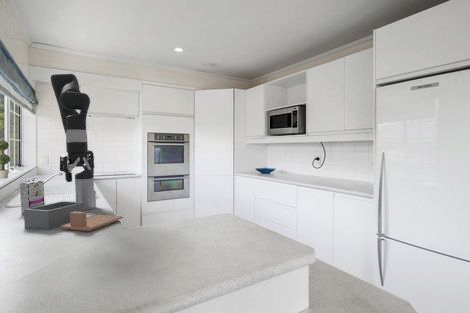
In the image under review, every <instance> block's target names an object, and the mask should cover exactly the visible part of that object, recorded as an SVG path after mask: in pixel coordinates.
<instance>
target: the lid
mask: <svg viewBox="0 0 470 313" xmlns="http://www.w3.org/2000/svg"><path fill="white" fill-rule="evenodd" d="M123 218H124V216H122V215H110V214H108V215H107V214H95V215H91V216H88V217H87V212H86V211H85V212H76V211H75V212H71V213H70V223H68V224H65V225H61V226H60V228H61V229H68V230H71V231H79V232H91V231H95V230H98V229H99V228H103V227H105V226H108V225H111V224H113V223H117V221H118V220H122V219H123Z"/></svg>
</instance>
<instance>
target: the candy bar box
mask: <svg viewBox="0 0 470 313" xmlns="http://www.w3.org/2000/svg"><path fill="white" fill-rule="evenodd" d="M44 185H45V184H44V181H43V180H34V181H27V182H22V183H19V193H20V207H21V214H23V215H24V209H28V208H33V207H38V206H42V205H46V204H45V190H44V188H45V186H44Z"/></svg>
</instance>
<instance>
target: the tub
mask: <svg viewBox="0 0 470 313" xmlns="http://www.w3.org/2000/svg"><path fill="white" fill-rule="evenodd" d="M75 211H76V212H86V210H85V205H84V202H76V201H65V200H64V201H63V200H62V201H57V202H51V203H49V204H45V205H42V206H38V207H33V208H28V209H24V214H23V217H24V218H23V219H24V228H25V229H32V230H33V229H34V230H44V231H49V230H54V229H57V228H61V225H65V224H68V223H70V213H71V212H75Z"/></svg>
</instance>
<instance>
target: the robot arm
mask: <svg viewBox="0 0 470 313" xmlns="http://www.w3.org/2000/svg"><path fill="white" fill-rule="evenodd" d="M50 83H51V87H52V89H53V93H54V96H55V99H56V102H57V105H58V109H59V113H60V118H61V123H62V127H63V129H64V133H65V144H66V145H65V147H66V153H67V155H61V156H60V157H59V171H60V172H63V173H64V174H65V175H64V177H65V181H66V182H67V183H72V182H73V169H75V168H76V167H77V168H79V167H81V168H83V170H82V171H80V172H77V173H75V174H74V187H75V189H74V190H75V202H84V205H85V211H88V210H92V209H94V208H96V207H97V201H96V200H97V198H96V197H97V196H96V195H97V194H96V190H95V182H94V180H95V178H94V174H95V170H94V169H95V155H94V152H93V151H92V150H89V149H88V148H89V146H88V132H87V116H88V111H89V108H90V105H91V98H90V97H89V95H88V94H87V93H84V92H81V90H80V84H79V80H78V77H77V76H76V74H74V73H53V74H51V75H50ZM78 111H79V112H78Z"/></svg>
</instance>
